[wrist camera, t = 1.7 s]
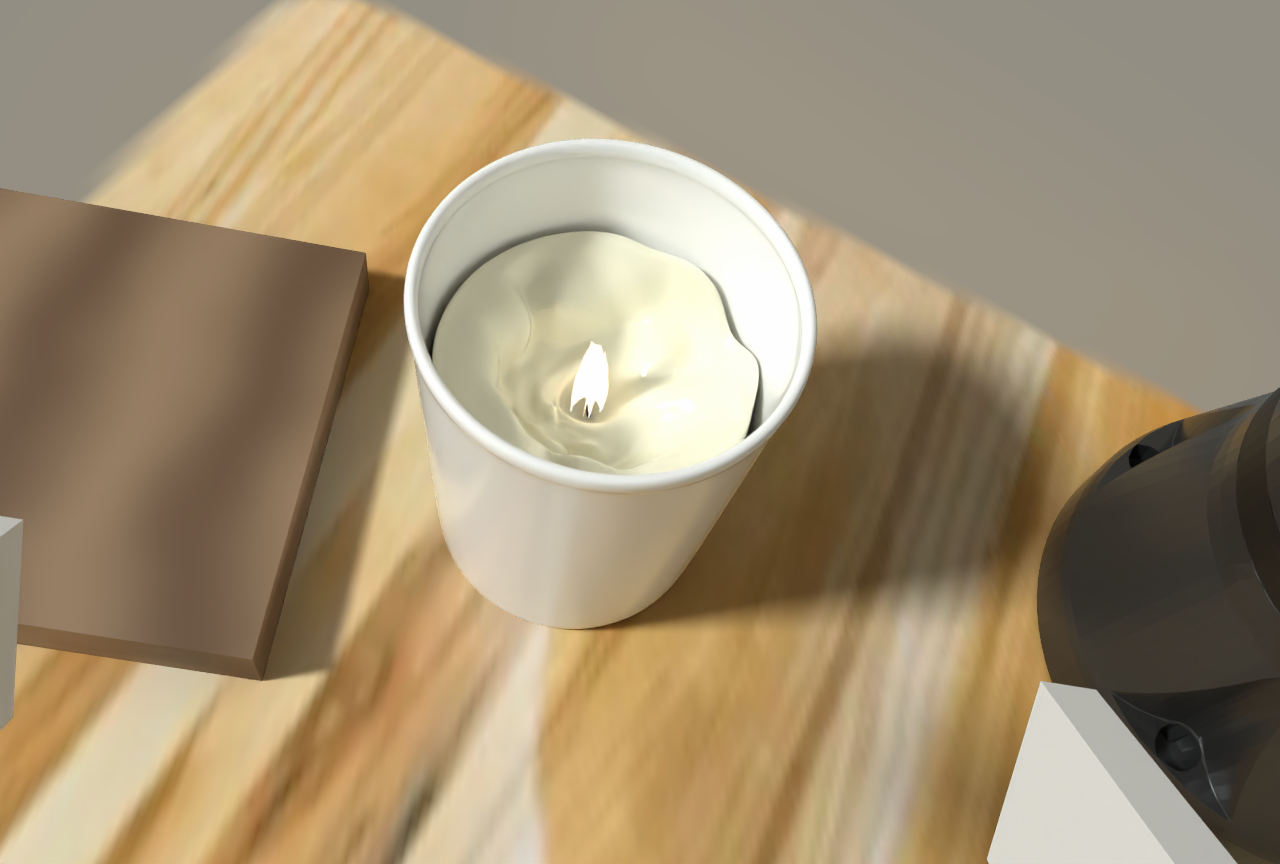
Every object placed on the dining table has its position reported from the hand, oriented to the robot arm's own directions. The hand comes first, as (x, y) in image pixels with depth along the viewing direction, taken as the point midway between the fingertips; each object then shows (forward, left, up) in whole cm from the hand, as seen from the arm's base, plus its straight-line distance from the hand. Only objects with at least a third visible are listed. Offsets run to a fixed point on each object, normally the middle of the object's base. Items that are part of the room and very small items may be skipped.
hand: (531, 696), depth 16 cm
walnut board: (+15, -12, -20) cm, 28 cm away
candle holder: (-1, -12, -20) cm, 24 cm away
